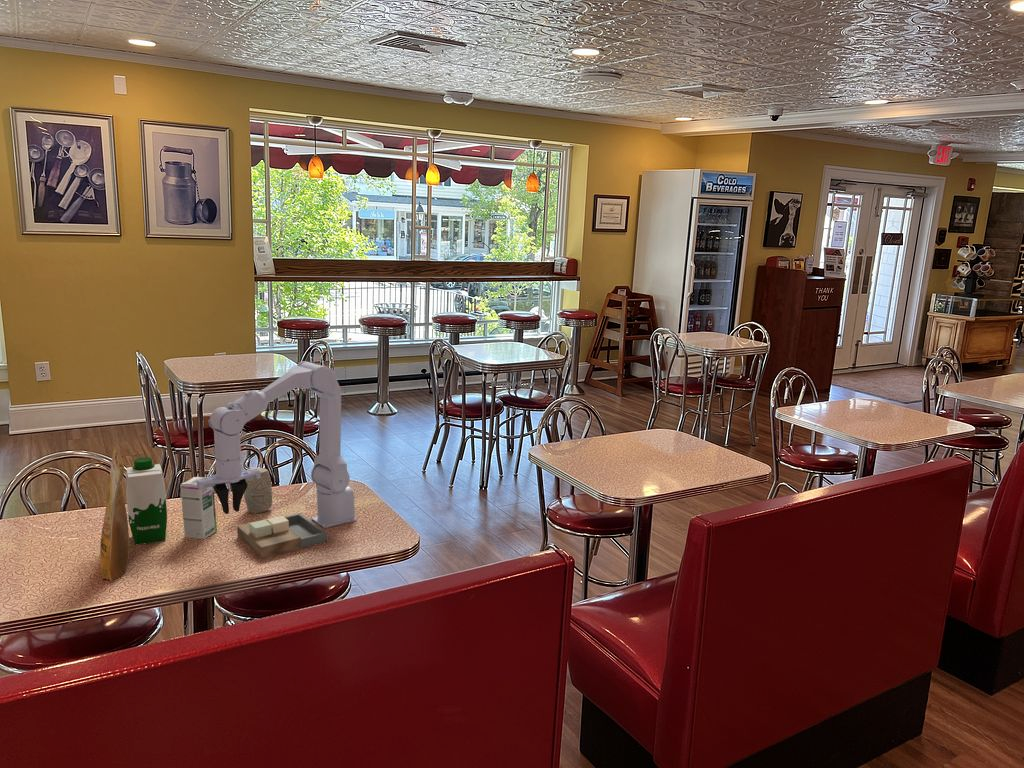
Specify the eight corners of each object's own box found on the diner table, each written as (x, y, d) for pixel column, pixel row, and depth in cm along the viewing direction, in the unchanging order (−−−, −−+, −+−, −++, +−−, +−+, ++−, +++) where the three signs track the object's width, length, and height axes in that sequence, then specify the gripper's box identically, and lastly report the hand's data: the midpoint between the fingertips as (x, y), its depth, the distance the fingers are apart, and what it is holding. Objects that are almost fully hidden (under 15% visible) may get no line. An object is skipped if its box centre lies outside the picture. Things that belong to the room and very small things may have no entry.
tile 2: (282, 524, 198) (282, 515, 197) (288, 529, 195) (288, 520, 194) (267, 528, 195) (266, 519, 195) (273, 533, 192) (273, 524, 192)
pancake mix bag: (136, 548, 189) (127, 438, 183) (132, 582, 172) (122, 462, 166) (105, 552, 186) (95, 440, 180) (98, 587, 169) (87, 465, 163)
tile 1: (265, 528, 195) (265, 519, 194) (271, 534, 192) (271, 524, 191) (249, 532, 192) (249, 523, 192) (255, 537, 189) (255, 528, 189)
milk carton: (167, 528, 201) (161, 455, 196) (169, 541, 193) (164, 465, 189) (129, 534, 197) (123, 459, 192) (130, 547, 189) (124, 470, 185)
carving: (241, 510, 215) (239, 468, 212) (268, 504, 219) (266, 464, 216) (249, 517, 210) (247, 475, 207) (276, 511, 214) (274, 470, 212)
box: (300, 521, 207) (300, 513, 207) (327, 541, 195) (327, 532, 195) (275, 527, 203) (275, 518, 203) (301, 548, 191) (300, 539, 191)
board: (275, 527, 203) (275, 517, 202) (301, 548, 191) (300, 537, 190) (237, 536, 197) (237, 525, 196) (261, 558, 185) (261, 547, 184)
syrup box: (204, 539, 195) (201, 485, 191) (183, 537, 196) (179, 483, 193) (217, 531, 200) (214, 478, 197) (196, 528, 201) (193, 475, 198)
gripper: (202, 467, 176) (205, 523, 179) (264, 456, 185) (266, 510, 188) (192, 459, 181) (196, 514, 184) (253, 449, 190) (255, 501, 193)
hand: (231, 511), depth 186 cm, fingers closed
